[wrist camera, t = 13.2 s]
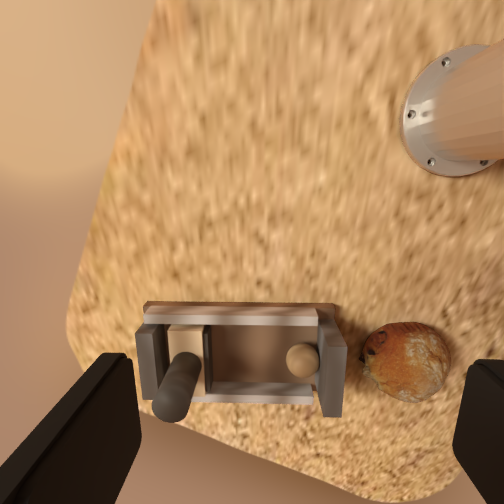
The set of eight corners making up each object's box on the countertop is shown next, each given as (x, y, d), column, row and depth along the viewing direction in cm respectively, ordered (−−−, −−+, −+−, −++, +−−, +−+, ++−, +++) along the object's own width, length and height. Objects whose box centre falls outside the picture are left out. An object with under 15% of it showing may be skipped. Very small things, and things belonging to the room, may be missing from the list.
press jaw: (211, 319, 37) (193, 368, 28) (213, 380, 39) (198, 445, 30) (174, 318, 37) (145, 367, 28) (179, 379, 40) (153, 443, 30)
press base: (332, 302, 38) (348, 333, 31) (326, 383, 41) (340, 429, 34) (147, 300, 39) (120, 329, 32) (155, 380, 42) (133, 423, 35)
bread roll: (398, 370, 44) (450, 411, 37) (345, 380, 40) (392, 429, 33) (418, 310, 42) (478, 343, 35) (364, 314, 37) (419, 352, 30)
